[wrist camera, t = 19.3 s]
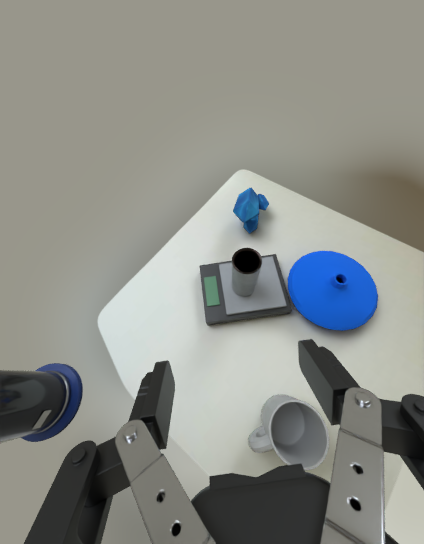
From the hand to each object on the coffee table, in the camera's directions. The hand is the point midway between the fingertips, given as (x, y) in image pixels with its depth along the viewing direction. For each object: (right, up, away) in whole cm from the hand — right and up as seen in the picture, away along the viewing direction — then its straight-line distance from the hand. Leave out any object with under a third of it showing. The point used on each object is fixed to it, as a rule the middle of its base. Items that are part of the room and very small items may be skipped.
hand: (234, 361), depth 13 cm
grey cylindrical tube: (+5, +3, +29) cm, 29 cm away
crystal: (+8, +17, +39) cm, 43 cm away
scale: (+5, +2, +32) cm, 32 cm away
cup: (+9, -19, +22) cm, 30 cm away
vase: (+21, +1, +30) cm, 37 cm away
